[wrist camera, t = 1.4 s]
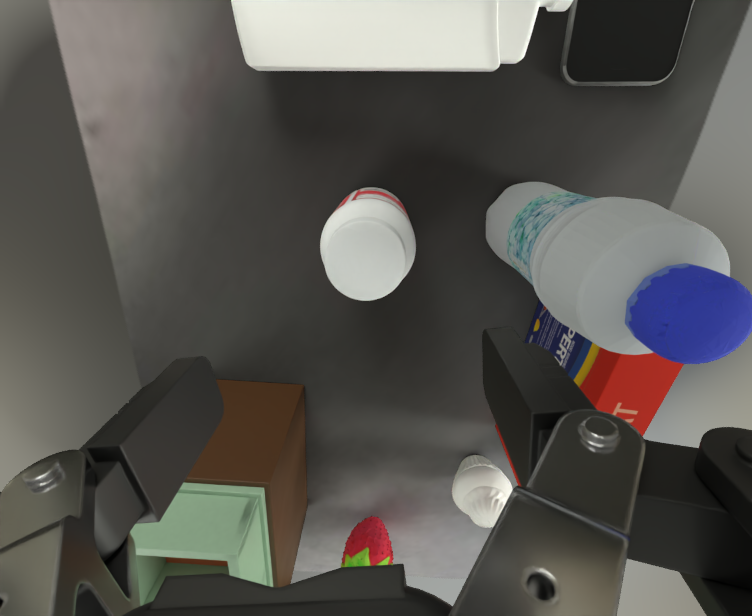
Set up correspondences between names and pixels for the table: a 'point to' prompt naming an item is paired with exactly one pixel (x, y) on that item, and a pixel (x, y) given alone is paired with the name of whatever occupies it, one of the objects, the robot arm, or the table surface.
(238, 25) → the squeeze bottle
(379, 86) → the table surface
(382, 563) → the strawberry
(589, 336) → the bottle
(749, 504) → the robot arm
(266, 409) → the rack
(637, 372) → the red cardboard box
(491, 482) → the muffin
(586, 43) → the smartphone
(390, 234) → the pill bottle
